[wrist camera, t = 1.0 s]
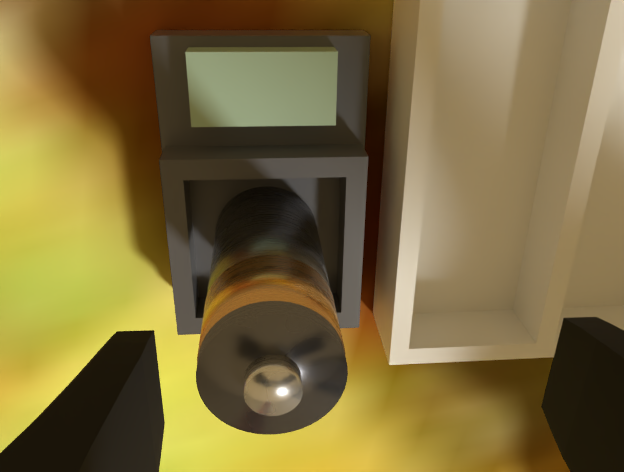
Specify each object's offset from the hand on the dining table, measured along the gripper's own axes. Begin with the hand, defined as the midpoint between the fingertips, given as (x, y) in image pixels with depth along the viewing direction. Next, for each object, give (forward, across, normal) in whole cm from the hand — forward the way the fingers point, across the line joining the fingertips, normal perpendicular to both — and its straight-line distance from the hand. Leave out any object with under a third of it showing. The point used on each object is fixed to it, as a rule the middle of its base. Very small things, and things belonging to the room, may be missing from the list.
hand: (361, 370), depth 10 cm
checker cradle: (+10, +2, 0) cm, 10 cm away
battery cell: (+9, +2, +2) cm, 9 cm away
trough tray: (+10, -7, -1) cm, 12 cm away
